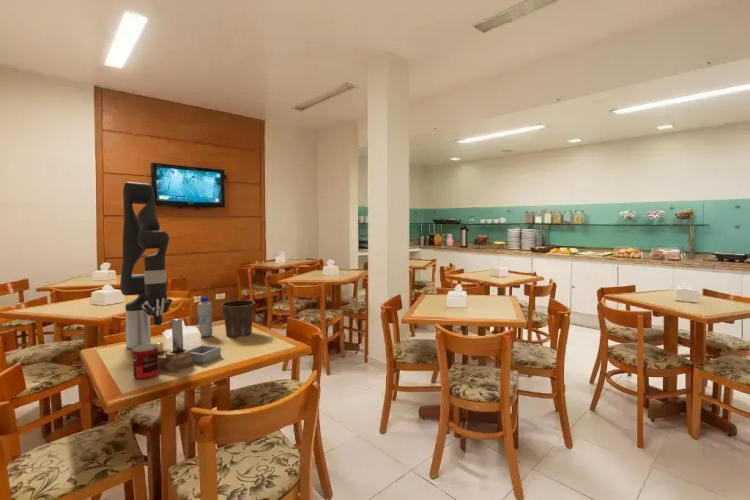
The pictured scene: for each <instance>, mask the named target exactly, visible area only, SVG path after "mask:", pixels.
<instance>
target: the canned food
mask: <svg viewBox="0 0 750 500" xmlns="http://www.w3.org/2000/svg"><path fill="white" fill-rule="evenodd" d="M132 365H133V366H132V369H133V377H134V379H135V380H138V381H139V380H140V381H141V380H143V381H144V380H148V379H152V378H155V377H157V376H158V374H159V370H158V352H157V345H156V344H155V343H151V344H143V345H138V346H135V347H134V348H133V349H132Z"/></svg>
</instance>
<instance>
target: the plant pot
mask: <svg viewBox="0 0 750 500" xmlns="http://www.w3.org/2000/svg"><path fill="white" fill-rule="evenodd" d="M255 304H256V302H255V301H254V300H248V299H247V300H246V299H237V300H230V301H225V302H223V303H221V304H220V306H221V307H222V313H223V318H224V324H225V326H224V327H225V334H226V337H228V338H243V337H247V336H250V335H251V334H252V331H253V330H252V329H253V317H254V316H253V315H254V310H255Z"/></svg>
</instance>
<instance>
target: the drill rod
mask: <svg viewBox="0 0 750 500" xmlns="http://www.w3.org/2000/svg"><path fill="white" fill-rule="evenodd" d="M183 333H184V332H183V319H182V318H173V319H171V334H172V335H171V338H172V339H171V341H172V350H173V353H175V354H179V353H182V352H183V349H184V335H183Z"/></svg>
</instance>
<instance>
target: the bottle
mask: <svg viewBox="0 0 750 500" xmlns="http://www.w3.org/2000/svg"><path fill="white" fill-rule="evenodd" d="M212 312H213V307H212V302H210V301H209V297H208V296H202V297H200V302H198V304H197V314H198V332H199V331H200V333H201V336H202V337H201V338H208V337H211V336H212V335H213V324H212V323H213V322H212V321H213V320H212V318H213V317H212Z"/></svg>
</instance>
